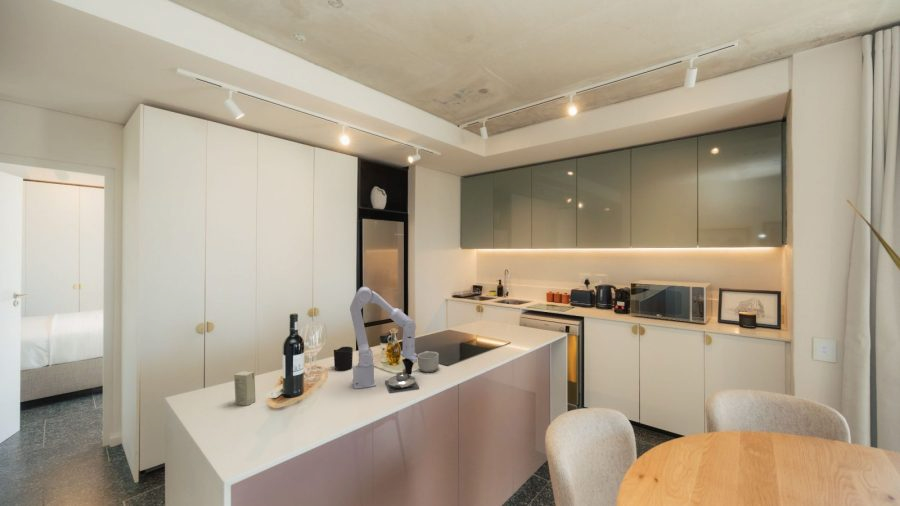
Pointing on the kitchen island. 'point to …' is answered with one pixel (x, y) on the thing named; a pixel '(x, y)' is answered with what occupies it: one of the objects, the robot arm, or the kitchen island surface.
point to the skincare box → (244, 388)
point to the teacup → (428, 361)
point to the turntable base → (394, 389)
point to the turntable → (397, 384)
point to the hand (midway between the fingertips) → (408, 374)
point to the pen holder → (343, 358)
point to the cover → (401, 376)
